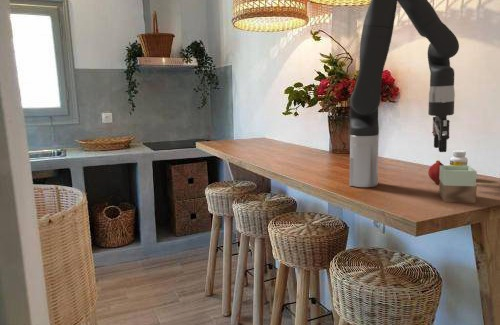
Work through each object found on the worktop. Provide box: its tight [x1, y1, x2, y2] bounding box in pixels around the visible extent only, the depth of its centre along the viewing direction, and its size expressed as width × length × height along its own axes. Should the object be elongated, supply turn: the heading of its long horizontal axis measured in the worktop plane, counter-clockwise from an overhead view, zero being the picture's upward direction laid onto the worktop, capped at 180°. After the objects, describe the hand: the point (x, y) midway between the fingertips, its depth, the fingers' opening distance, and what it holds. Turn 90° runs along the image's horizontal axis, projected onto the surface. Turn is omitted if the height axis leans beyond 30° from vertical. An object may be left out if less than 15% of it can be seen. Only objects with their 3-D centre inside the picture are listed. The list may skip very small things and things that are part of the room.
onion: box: [427, 159, 444, 185], centre depth 132 cm, size 6×6×8 cm
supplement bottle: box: [449, 149, 468, 166], centre depth 138 cm, size 5×5×10 cm
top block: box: [439, 164, 478, 186], centre depth 114 cm, size 8×8×4 cm
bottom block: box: [438, 181, 478, 204], centre depth 115 cm, size 8×8×5 cm
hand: (439, 149), depth 131 cm, fingers open, 8 cm apart
